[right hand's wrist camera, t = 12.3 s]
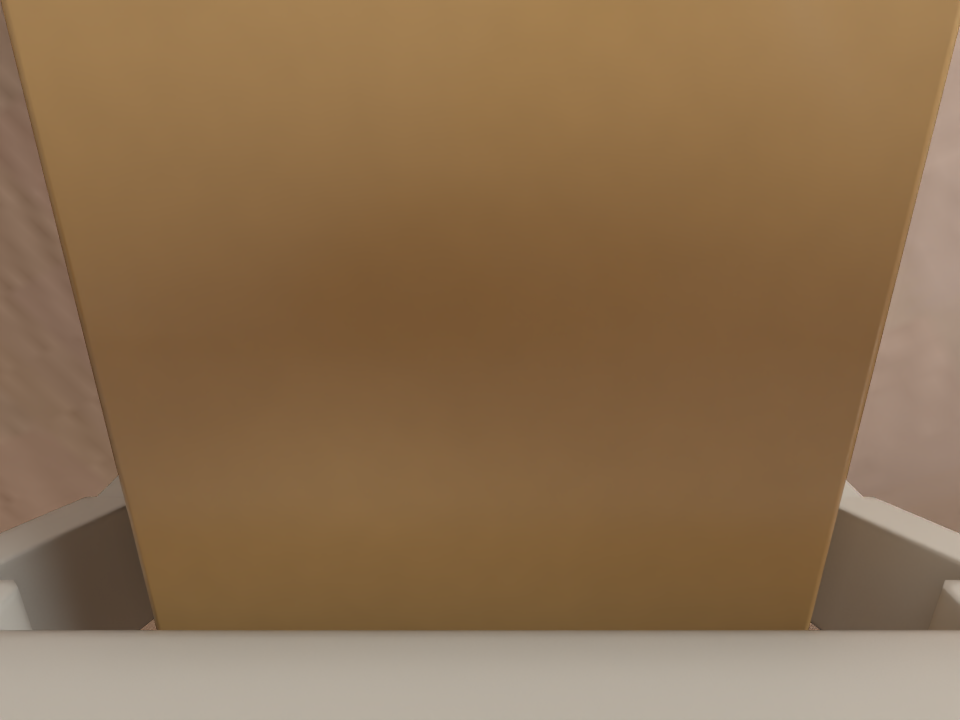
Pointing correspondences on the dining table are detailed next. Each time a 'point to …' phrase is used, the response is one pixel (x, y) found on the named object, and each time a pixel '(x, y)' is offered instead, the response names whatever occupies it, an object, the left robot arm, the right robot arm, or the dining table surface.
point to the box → (482, 294)
